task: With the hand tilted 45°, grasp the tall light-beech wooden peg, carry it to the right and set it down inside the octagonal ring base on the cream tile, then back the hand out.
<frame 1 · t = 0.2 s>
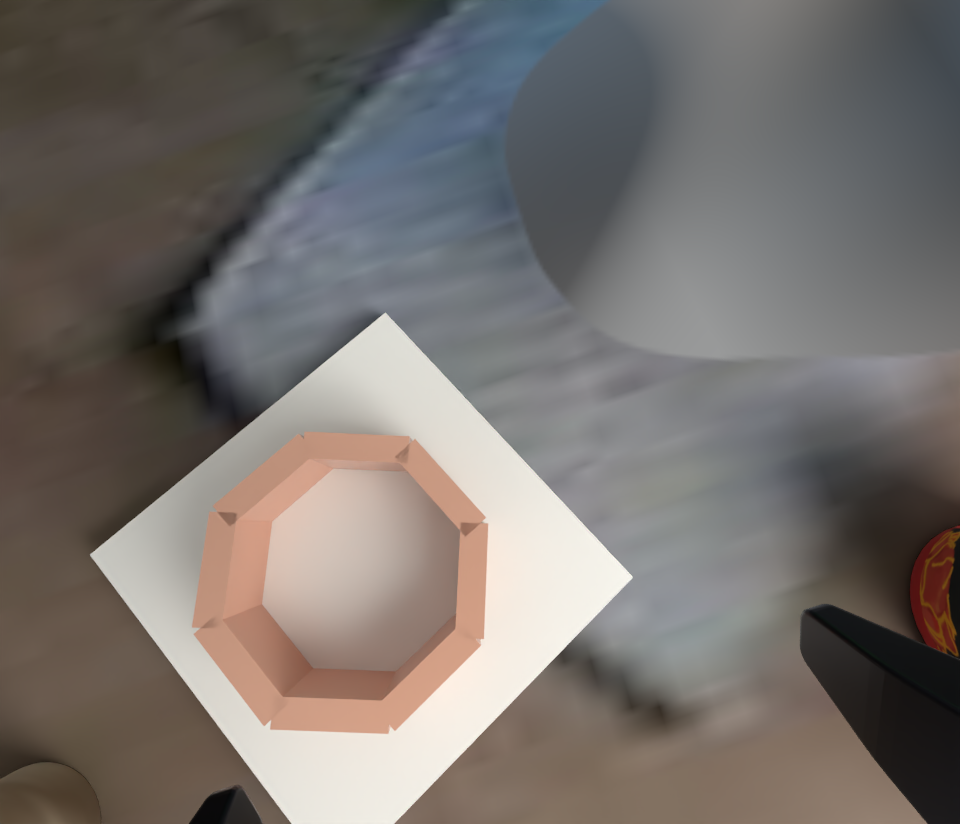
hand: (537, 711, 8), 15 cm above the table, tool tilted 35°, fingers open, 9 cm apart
octagonal ring base: (368, 564, 23), on the table
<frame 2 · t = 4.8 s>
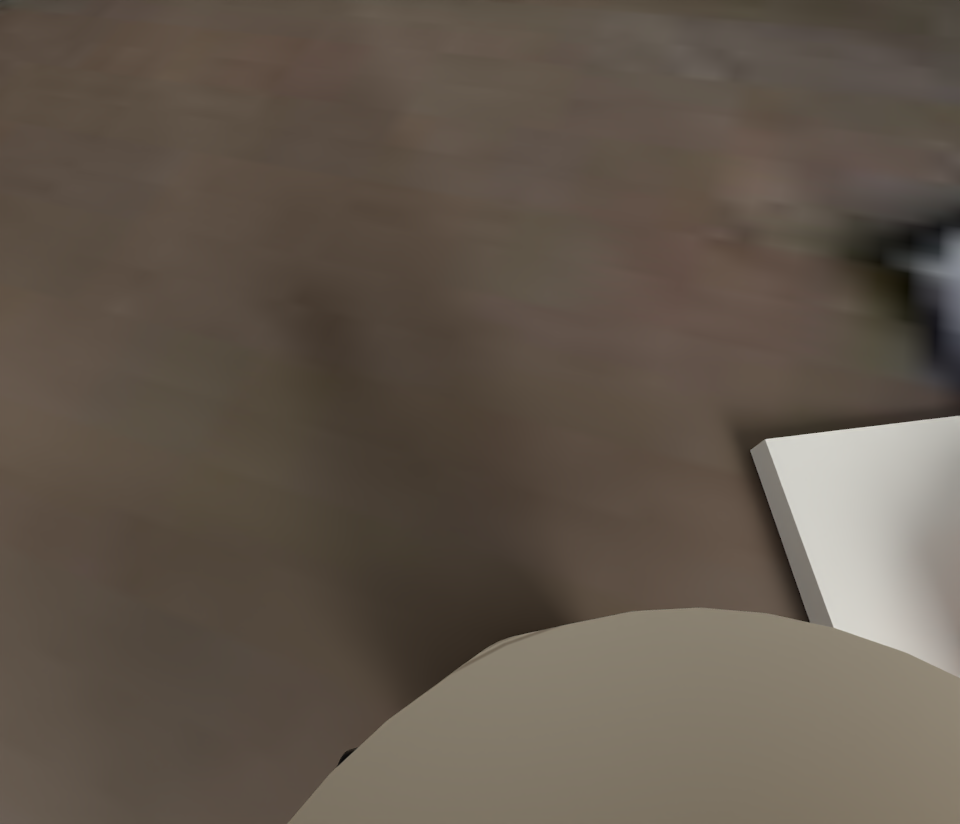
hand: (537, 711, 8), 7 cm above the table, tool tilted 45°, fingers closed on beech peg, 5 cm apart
beech peg: (535, 738, 13), on the table, touching gripper
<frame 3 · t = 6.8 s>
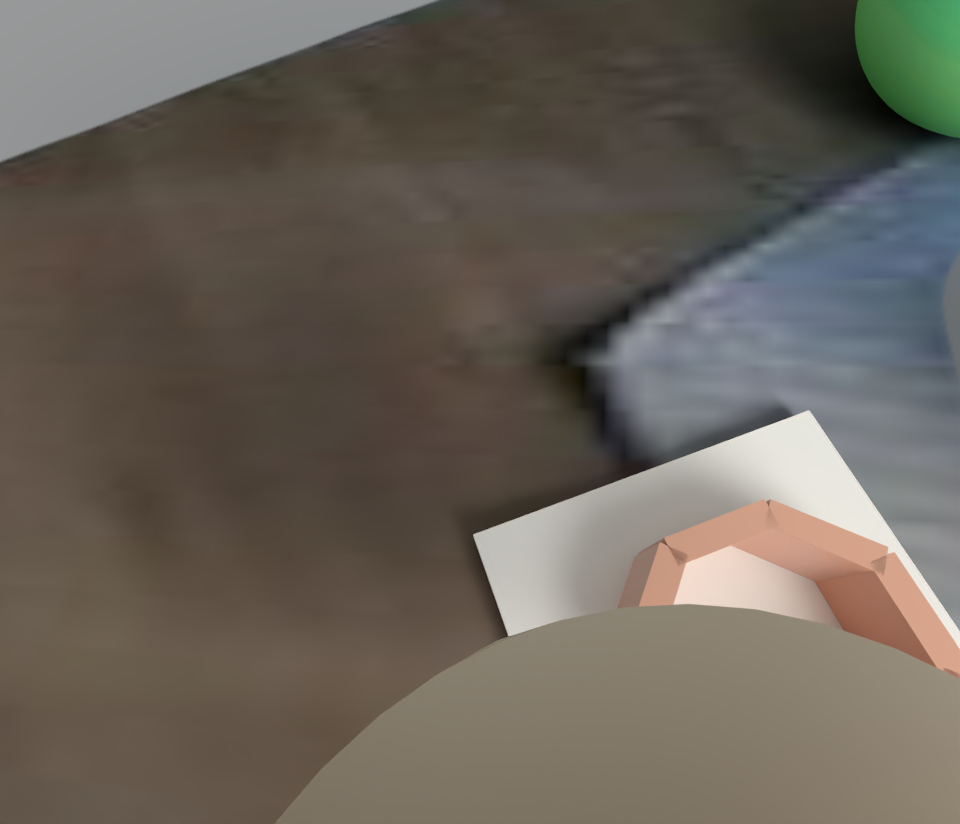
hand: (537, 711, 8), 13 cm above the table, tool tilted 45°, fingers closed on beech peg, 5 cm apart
octagonal ring base: (736, 662, 20), on the table
toy bird: (950, 104, 32), on the table
beech peg: (534, 737, 13), point 7 cm above the table, touching gripper
when the fingers open (9 cm above the table, at t = 8.9 s): beech peg drops 1 cm, resting on octagonal ring base.
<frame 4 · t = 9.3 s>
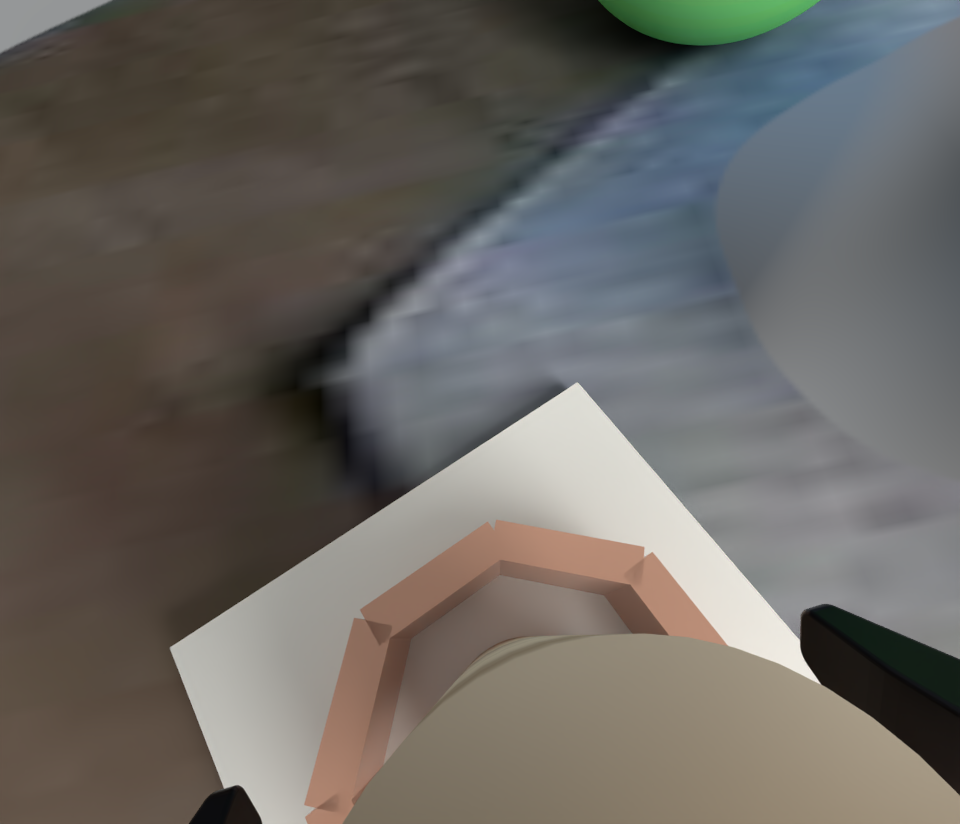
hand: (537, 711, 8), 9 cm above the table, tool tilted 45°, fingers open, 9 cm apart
octagonal ring base: (530, 723, 16), on the table
toy bird: (698, 15, 30), on the table
beech peg: (532, 731, 15), point 1 cm above the table, touching octagonal ring base
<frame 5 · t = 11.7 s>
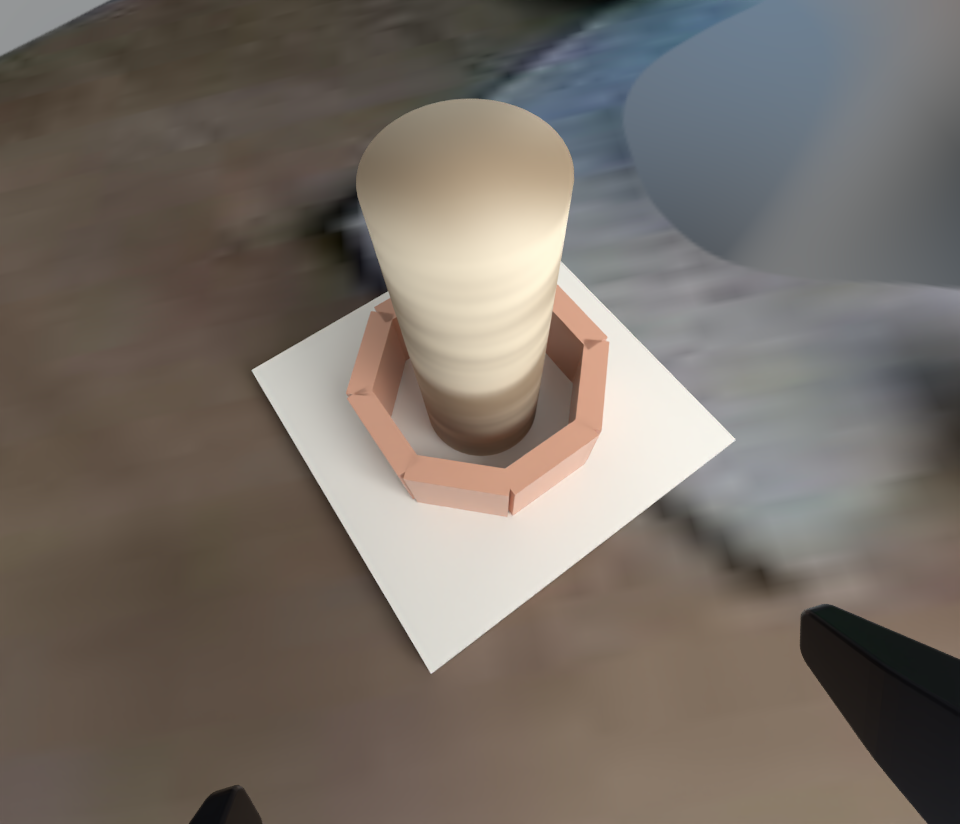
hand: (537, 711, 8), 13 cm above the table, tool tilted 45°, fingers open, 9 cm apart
octagonal ring base: (482, 411, 25), on the table
beech peg: (481, 404, 24), point 1 cm above the table, touching octagonal ring base
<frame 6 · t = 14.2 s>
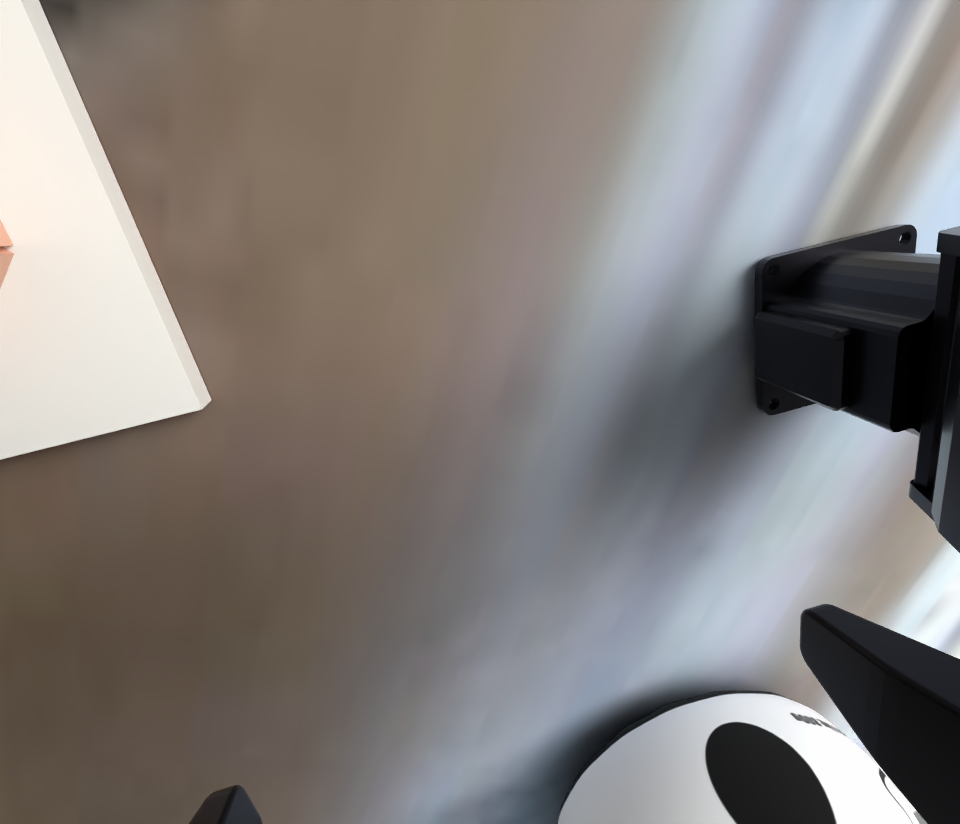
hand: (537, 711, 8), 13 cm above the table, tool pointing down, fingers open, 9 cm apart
milk container: (680, 771, 30), on the table
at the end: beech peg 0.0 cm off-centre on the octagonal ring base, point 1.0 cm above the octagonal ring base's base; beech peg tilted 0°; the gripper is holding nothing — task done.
